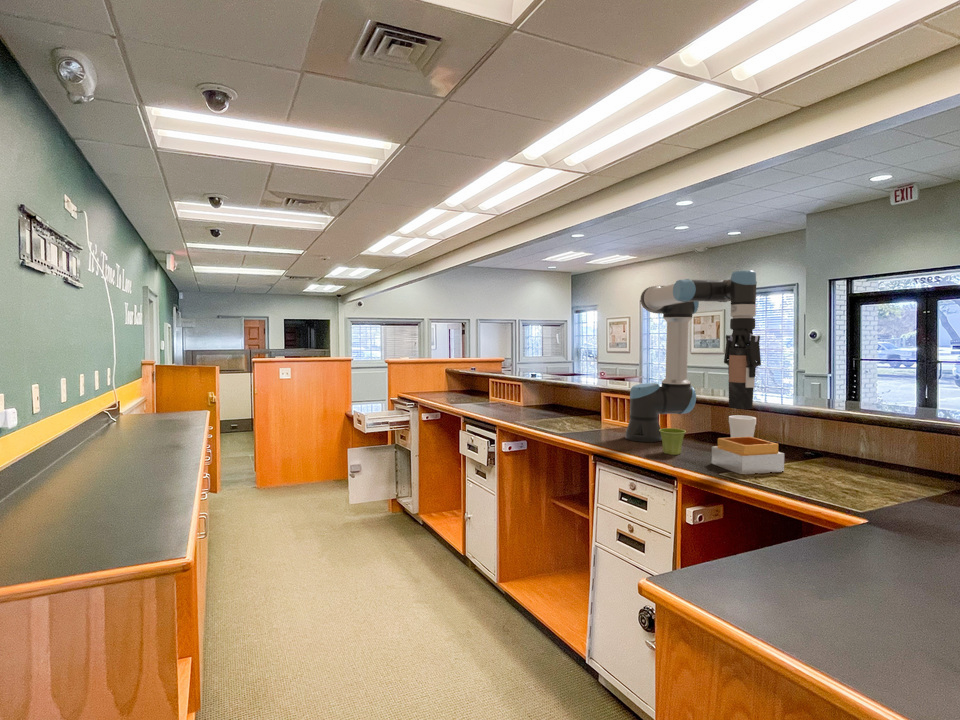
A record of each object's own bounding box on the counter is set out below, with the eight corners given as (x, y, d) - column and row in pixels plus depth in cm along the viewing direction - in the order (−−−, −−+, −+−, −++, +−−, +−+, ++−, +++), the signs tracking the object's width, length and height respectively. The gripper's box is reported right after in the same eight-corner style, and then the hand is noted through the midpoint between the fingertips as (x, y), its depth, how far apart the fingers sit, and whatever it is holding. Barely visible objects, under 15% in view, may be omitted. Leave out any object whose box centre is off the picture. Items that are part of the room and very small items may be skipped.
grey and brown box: (711, 463, 189) (712, 437, 189) (762, 460, 194) (763, 435, 194) (741, 474, 175) (742, 446, 174) (796, 470, 180) (797, 443, 179)
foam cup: (749, 448, 213) (750, 415, 213) (759, 454, 204) (760, 419, 203) (724, 448, 214) (725, 415, 214) (733, 453, 205) (733, 419, 204)
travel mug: (756, 409, 178) (757, 348, 177) (730, 408, 180) (732, 348, 179) (749, 406, 186) (751, 347, 185) (725, 405, 188) (727, 347, 187)
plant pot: (689, 456, 201) (689, 432, 200) (663, 456, 201) (663, 432, 200) (680, 450, 210) (680, 428, 210) (655, 450, 210) (655, 428, 210)
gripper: (713, 318, 191) (711, 383, 192) (754, 316, 171) (753, 389, 172) (732, 318, 192) (730, 383, 194) (775, 316, 172) (773, 389, 174)
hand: (741, 386), depth 183 cm, fingers closed on travel mug, 8 cm apart
